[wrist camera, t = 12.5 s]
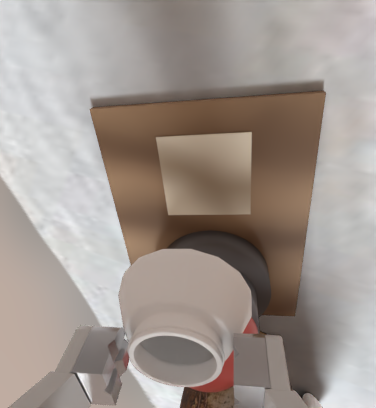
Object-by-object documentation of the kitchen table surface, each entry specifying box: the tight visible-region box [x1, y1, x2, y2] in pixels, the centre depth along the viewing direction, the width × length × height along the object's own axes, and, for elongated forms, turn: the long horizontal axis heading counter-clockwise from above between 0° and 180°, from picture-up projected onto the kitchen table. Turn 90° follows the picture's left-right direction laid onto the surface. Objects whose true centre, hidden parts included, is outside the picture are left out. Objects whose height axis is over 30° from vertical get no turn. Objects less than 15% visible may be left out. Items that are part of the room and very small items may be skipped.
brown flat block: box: [90, 91, 326, 317], centre depth 22 cm, size 19×14×3 cm
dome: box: [189, 272, 260, 392], centre depth 20 cm, size 7×7×7 cm
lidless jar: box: [118, 249, 252, 387], centre depth 11 cm, size 5×3×5 cm
